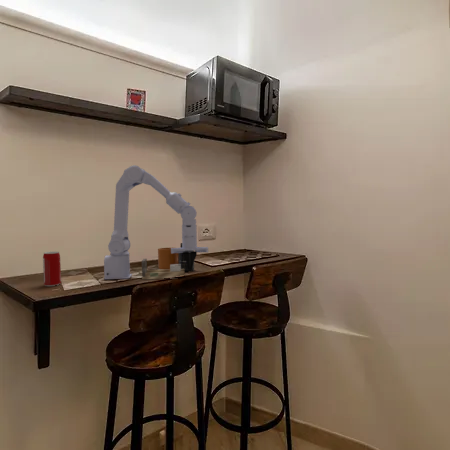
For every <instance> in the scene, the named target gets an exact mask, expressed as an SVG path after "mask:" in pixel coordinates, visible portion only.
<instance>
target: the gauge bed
mask: <svg viewBox="0 0 450 450" xmlns="http://www.w3.org/2000/svg"><path fill="white" fill-rule="evenodd" d="M147 261H148V259H147V258H143V259H142V260H141V280H165V279H164V278H168V277H176V276H180V275H184V274H185V273H186V272H185V271H184V269H181V272H170V269H148V267H147V266H148V265H147V264H148V263H147Z"/></svg>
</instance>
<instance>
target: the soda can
mask: <svg viewBox="0 0 450 450" xmlns="http://www.w3.org/2000/svg"><path fill="white" fill-rule="evenodd" d="M61 265H62V264H61V255H60V251H45V252H43V256H42V266H43V267H42V268H43V269H42V270H43V285H44V286H45V287H55V285H57V286H60V285H61V284H62V272H61V269H62V268H61ZM59 284H60V285H59Z"/></svg>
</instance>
